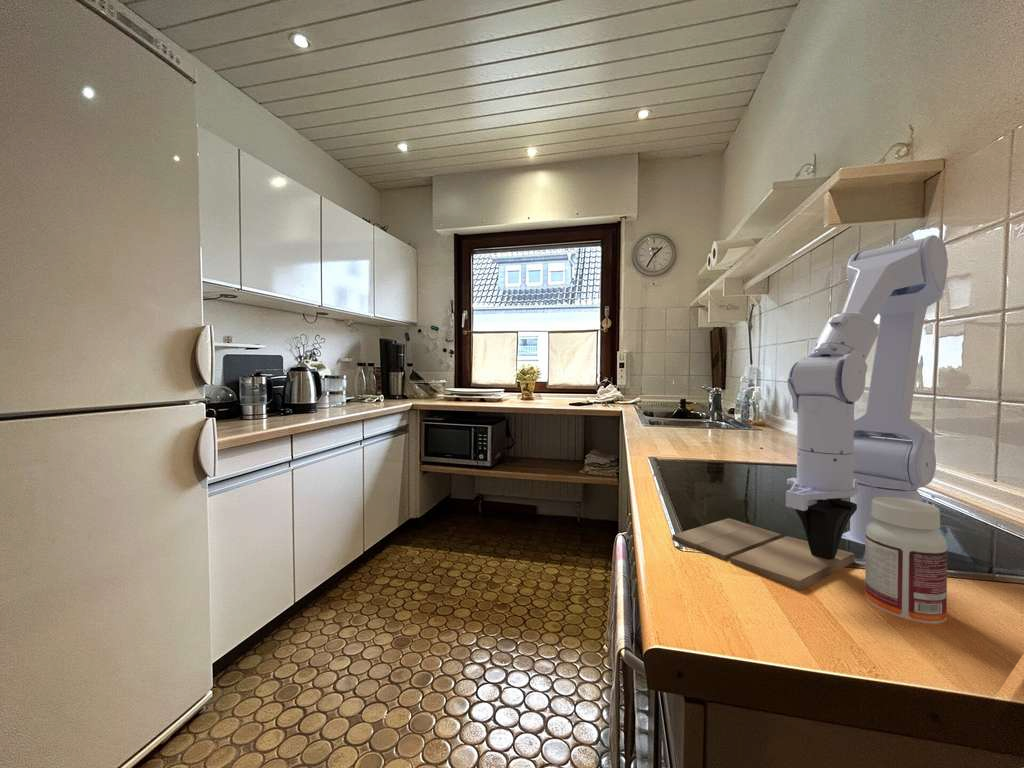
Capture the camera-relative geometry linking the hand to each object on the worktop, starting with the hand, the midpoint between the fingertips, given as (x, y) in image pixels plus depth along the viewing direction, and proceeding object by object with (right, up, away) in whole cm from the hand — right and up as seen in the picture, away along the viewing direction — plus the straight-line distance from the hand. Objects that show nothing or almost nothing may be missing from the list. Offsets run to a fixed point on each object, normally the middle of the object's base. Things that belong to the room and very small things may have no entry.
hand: (822, 556), depth 52 cm
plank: (-4, -1, +1) cm, 4 cm away
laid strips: (-8, -1, +8) cm, 11 cm away
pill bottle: (+1, -2, -10) cm, 10 cm away
